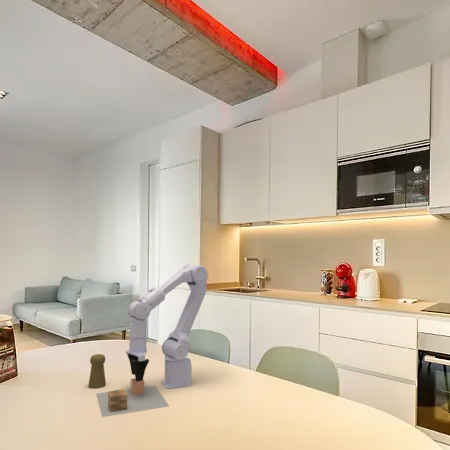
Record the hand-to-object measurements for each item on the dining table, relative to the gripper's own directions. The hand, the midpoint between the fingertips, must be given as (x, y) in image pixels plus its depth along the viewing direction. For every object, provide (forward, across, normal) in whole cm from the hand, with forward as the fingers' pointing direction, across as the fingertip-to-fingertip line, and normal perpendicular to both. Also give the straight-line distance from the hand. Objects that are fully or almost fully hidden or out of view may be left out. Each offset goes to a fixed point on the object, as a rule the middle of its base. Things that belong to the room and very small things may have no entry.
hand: (137, 377), depth 131 cm
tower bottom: (+5, +11, -8) cm, 14 cm away
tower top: (+3, +11, -8) cm, 14 cm away
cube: (+5, 0, 0) cm, 5 cm away
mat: (+5, +6, -3) cm, 8 cm away
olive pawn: (+5, -12, -12) cm, 18 cm away
